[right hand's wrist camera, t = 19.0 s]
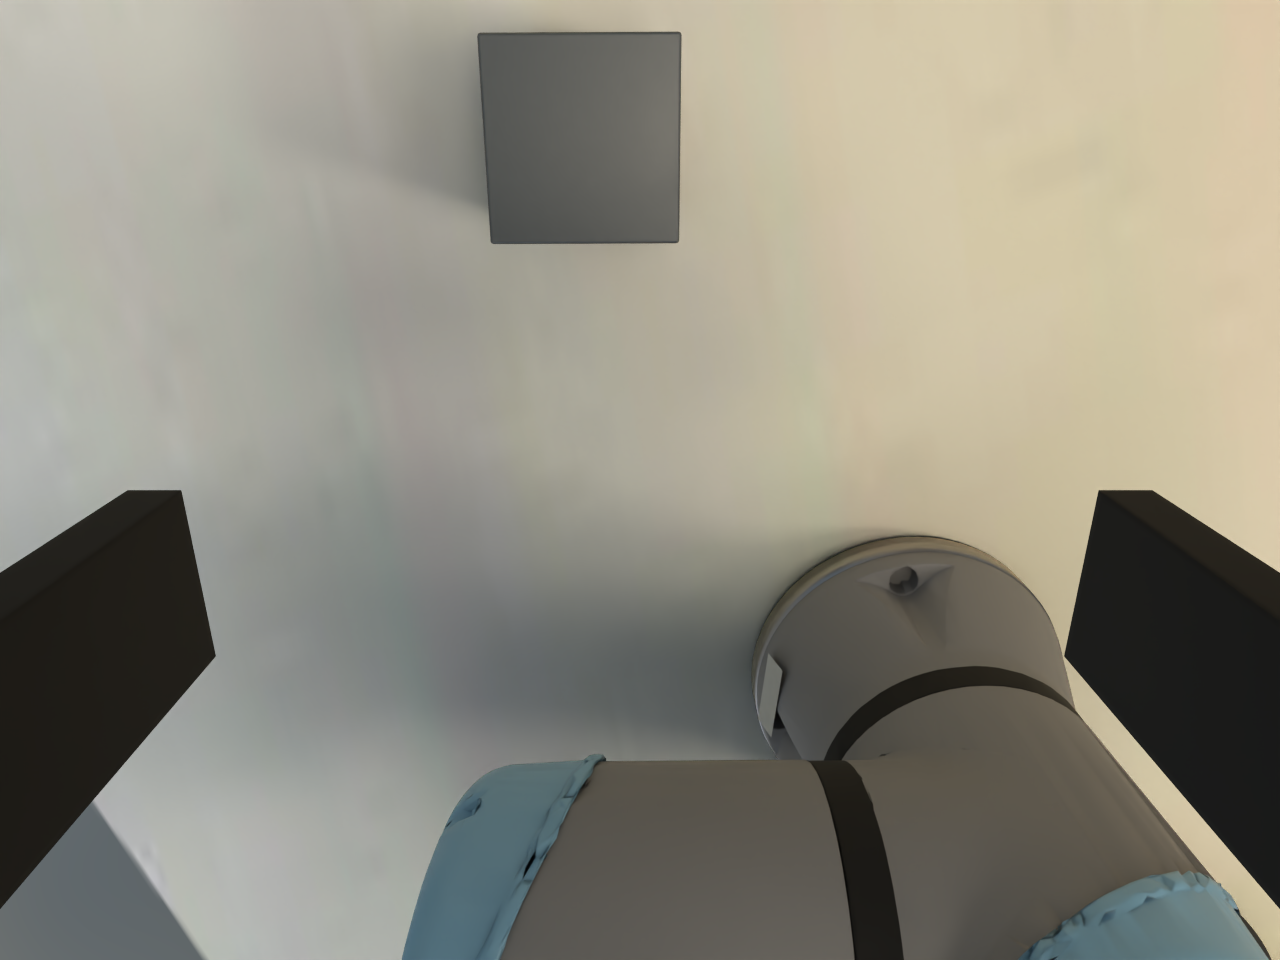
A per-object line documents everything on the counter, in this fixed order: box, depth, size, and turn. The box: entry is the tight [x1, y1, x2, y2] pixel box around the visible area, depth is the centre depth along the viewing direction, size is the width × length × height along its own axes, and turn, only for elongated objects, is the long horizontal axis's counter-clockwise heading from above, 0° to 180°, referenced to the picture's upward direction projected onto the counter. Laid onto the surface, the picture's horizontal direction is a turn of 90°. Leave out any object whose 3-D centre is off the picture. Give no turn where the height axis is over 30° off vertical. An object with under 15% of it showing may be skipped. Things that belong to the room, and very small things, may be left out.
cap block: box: [477, 32, 681, 244], centre depth 30 cm, size 6×6×10 cm
